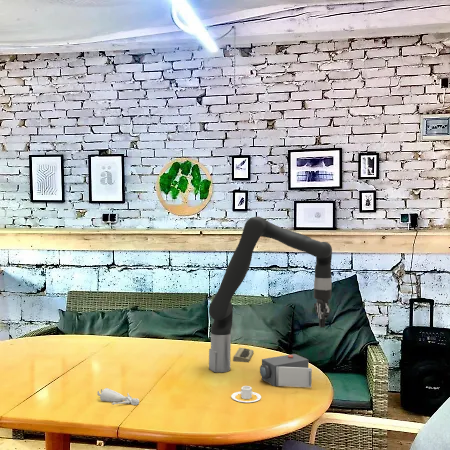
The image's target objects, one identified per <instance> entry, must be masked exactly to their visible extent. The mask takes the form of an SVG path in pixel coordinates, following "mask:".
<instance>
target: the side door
mask: <svg viewBox="0 0 450 450" xmlns="http://www.w3.org/2000/svg"><path fill="white" fill-rule="evenodd" d="M312 371H313V368H312V367H308V368H300V367H278V366H276V386H275V387H279V386H280V387H292V388H293V387H297V388H312V380H313V378H312V375H313V374H312V373H313V372H312Z"/></svg>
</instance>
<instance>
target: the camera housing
mask: <svg viewBox="0 0 450 450" xmlns="http://www.w3.org/2000/svg"><path fill="white" fill-rule="evenodd" d="M276 366H278V367H300V368H309V359H307V358H306V357H303V356H300V355H299V354H296V353H292V354H287V355H279V356H273V357H266V358H261V365H260V366H259V373H260V376H261V380H263V381H264V382H266V383H267V384H270V386H273V387H277V386H276Z"/></svg>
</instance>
